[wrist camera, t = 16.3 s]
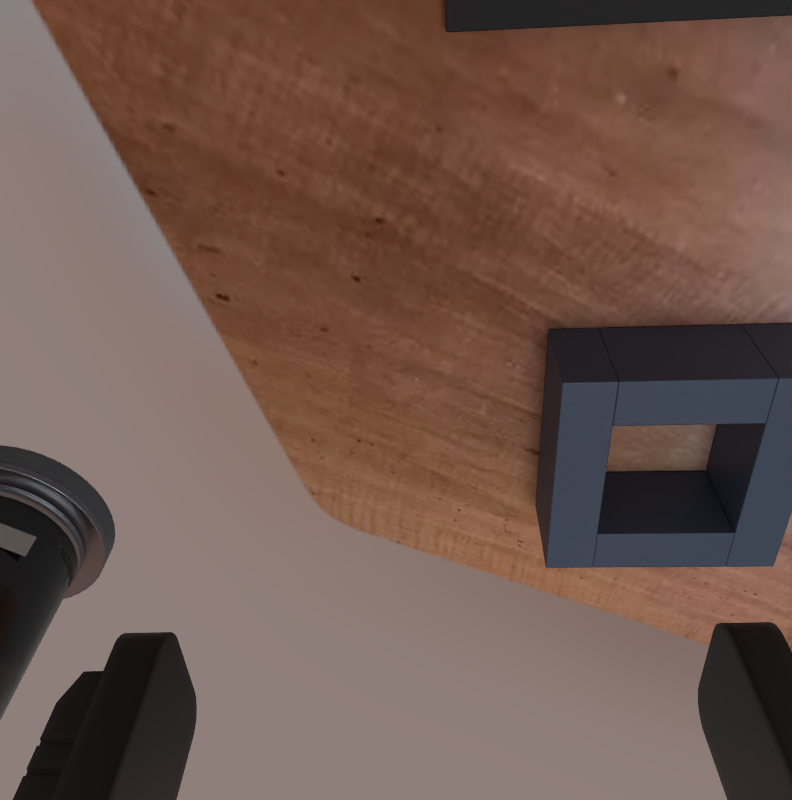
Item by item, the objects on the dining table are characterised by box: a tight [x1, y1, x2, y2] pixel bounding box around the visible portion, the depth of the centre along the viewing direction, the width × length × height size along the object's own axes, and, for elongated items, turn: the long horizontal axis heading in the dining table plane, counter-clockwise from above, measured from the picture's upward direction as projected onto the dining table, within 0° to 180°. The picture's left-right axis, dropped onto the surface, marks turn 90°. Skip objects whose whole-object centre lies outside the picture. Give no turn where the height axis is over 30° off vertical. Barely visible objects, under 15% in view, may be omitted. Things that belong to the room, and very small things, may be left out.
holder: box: [536, 323, 792, 568], centre depth 39 cm, size 12×12×5 cm
